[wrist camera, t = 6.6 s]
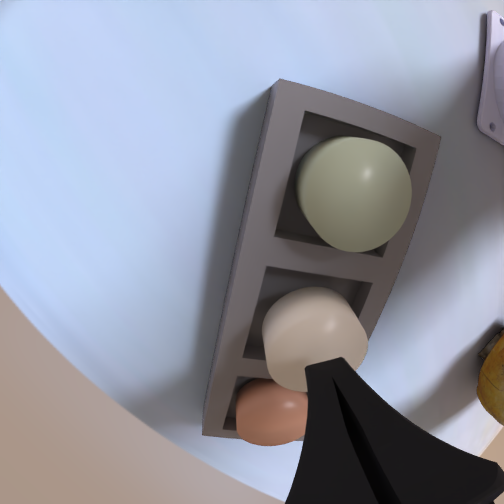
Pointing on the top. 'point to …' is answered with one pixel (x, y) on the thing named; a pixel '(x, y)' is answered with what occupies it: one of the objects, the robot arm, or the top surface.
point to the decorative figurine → (493, 378)
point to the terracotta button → (270, 413)
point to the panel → (303, 235)
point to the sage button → (353, 192)
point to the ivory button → (310, 334)
